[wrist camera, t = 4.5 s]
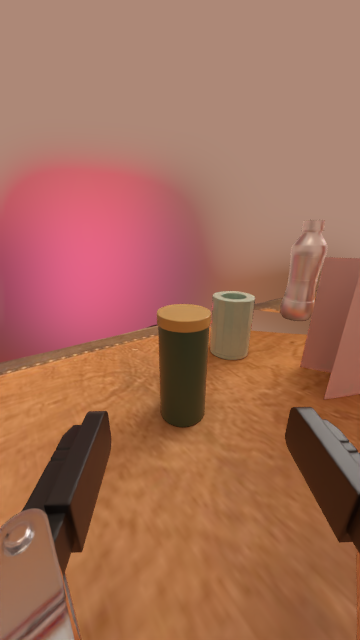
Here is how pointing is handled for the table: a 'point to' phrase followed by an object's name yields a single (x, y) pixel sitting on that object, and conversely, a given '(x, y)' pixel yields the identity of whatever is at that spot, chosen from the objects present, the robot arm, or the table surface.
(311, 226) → the plastic bottle
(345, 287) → the greeting card
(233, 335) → the vase
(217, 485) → the table surface
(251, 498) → the table surface
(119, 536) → the table surface
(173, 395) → the tea tin
